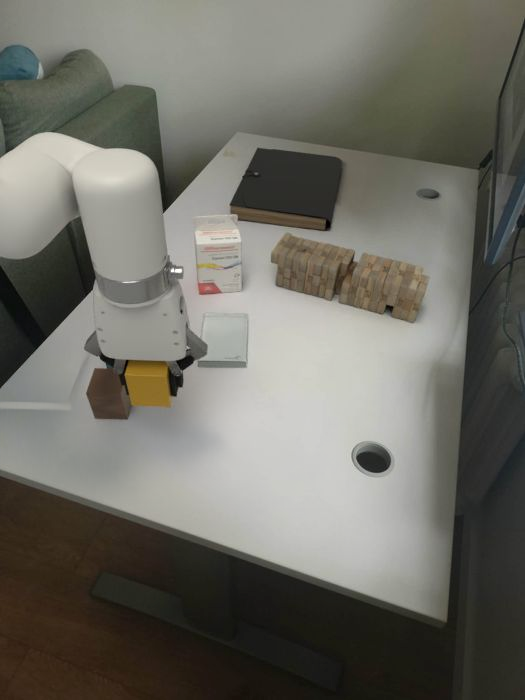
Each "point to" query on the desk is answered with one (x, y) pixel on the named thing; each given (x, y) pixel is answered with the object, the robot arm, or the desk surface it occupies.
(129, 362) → the yellow block
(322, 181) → the black book
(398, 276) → the block tower
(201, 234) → the ink cartridge box
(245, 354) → the hard drive
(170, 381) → the robot arm
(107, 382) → the walnut block
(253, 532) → the desk surface
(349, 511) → the desk surface
